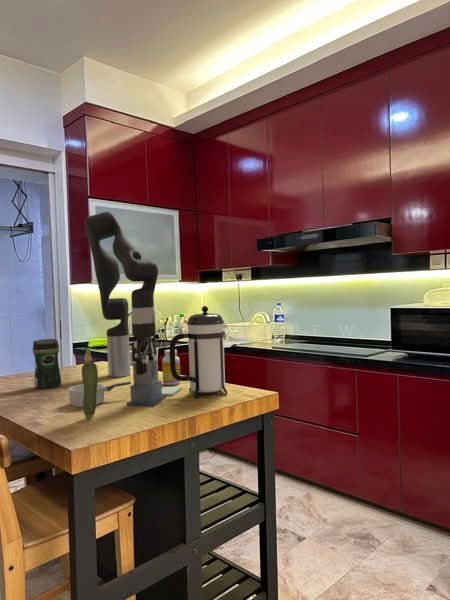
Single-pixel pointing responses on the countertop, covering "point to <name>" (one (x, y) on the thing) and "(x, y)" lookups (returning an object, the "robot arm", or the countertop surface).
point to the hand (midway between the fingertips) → (145, 371)
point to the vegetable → (89, 385)
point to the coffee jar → (46, 363)
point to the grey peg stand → (146, 393)
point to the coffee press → (203, 353)
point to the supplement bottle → (167, 375)
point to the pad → (170, 390)
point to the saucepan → (78, 393)
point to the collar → (146, 373)
